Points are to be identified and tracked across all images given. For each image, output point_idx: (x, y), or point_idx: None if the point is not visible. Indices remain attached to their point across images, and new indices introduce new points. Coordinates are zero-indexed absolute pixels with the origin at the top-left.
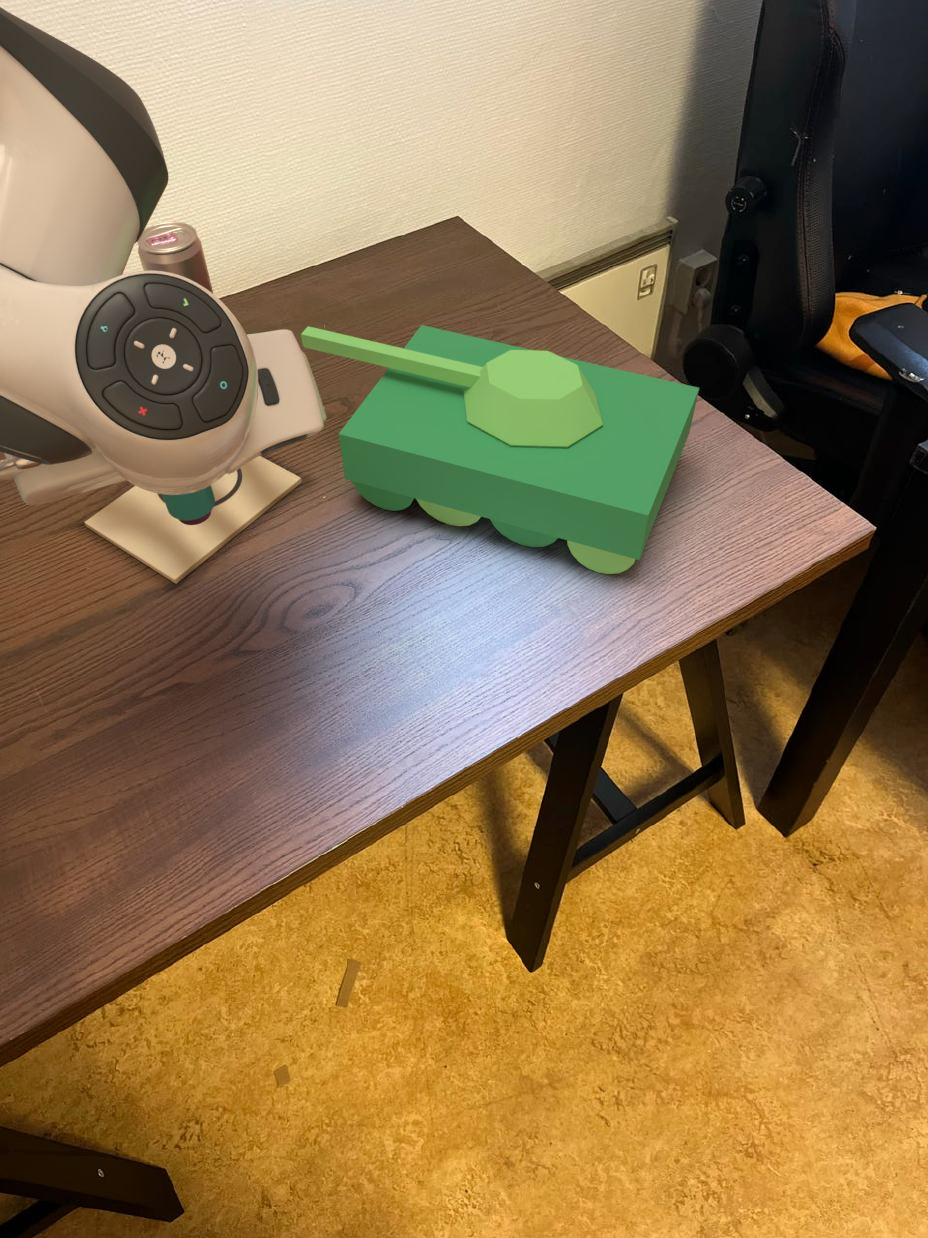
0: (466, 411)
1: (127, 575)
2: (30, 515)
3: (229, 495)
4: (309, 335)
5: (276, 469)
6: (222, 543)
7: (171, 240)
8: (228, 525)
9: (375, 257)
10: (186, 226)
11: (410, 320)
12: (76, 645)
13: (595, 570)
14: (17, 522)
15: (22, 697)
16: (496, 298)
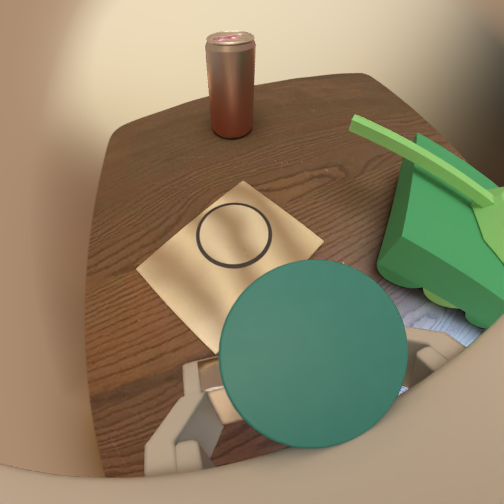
0: (480, 228)
1: (171, 335)
2: (100, 252)
3: (262, 254)
4: (360, 123)
5: (301, 228)
6: None
7: (233, 38)
8: None
9: (332, 79)
10: (244, 33)
11: (365, 117)
12: (135, 406)
13: None
14: (91, 258)
15: (104, 443)
16: (406, 117)
